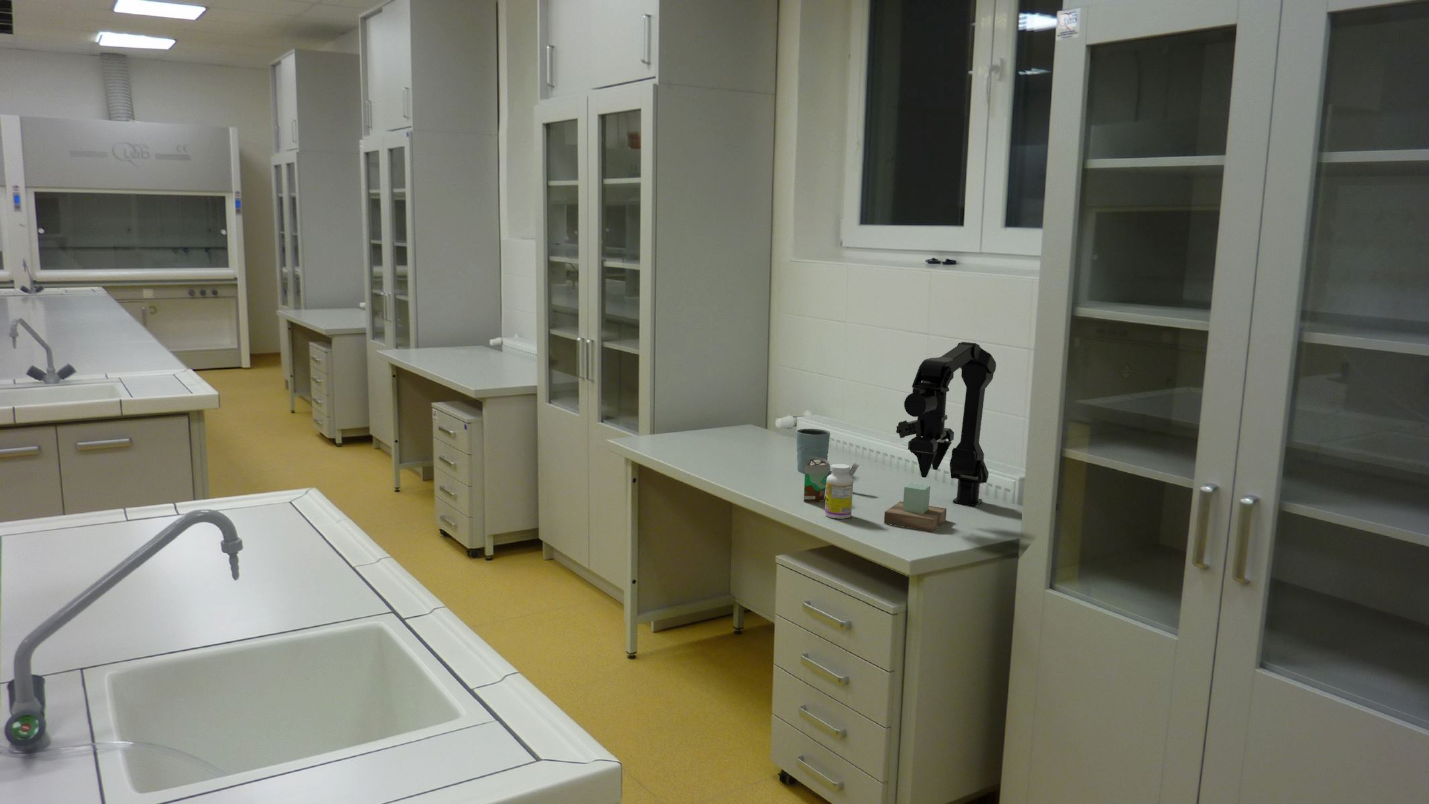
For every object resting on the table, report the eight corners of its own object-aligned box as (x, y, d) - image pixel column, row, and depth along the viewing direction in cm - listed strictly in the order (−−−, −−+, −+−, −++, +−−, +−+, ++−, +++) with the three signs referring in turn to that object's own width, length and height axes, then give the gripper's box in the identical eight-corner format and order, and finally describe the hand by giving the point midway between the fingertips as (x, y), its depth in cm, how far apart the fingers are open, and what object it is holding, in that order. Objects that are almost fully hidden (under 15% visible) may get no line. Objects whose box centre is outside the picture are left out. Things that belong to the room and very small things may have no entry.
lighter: (830, 490, 279) (832, 461, 278) (832, 488, 280) (833, 460, 279) (856, 493, 276) (857, 464, 275) (857, 491, 278) (859, 463, 277)
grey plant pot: (811, 476, 294) (813, 435, 292) (787, 469, 302) (788, 430, 300) (835, 472, 301) (837, 432, 299) (810, 465, 308) (812, 426, 306)
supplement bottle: (827, 511, 257) (829, 461, 255) (853, 514, 255) (856, 464, 253) (822, 517, 251) (824, 467, 249) (848, 520, 249) (851, 469, 247)
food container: (826, 505, 263) (828, 467, 261) (803, 503, 264) (804, 465, 262) (830, 493, 275) (832, 457, 273) (808, 492, 276) (810, 456, 274)
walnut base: (899, 512, 258) (900, 501, 257) (945, 520, 252) (946, 508, 252) (883, 523, 247) (884, 511, 247) (931, 531, 242) (932, 519, 241)
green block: (909, 506, 253) (910, 482, 252) (928, 509, 250) (930, 485, 249) (902, 510, 248) (904, 486, 247) (922, 513, 246) (924, 489, 245)
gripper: (913, 402, 259) (909, 461, 261) (889, 413, 243) (885, 476, 245) (956, 407, 253) (952, 467, 256) (934, 418, 237) (930, 483, 240)
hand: (929, 473), depth 250 cm, fingers open, 9 cm apart
